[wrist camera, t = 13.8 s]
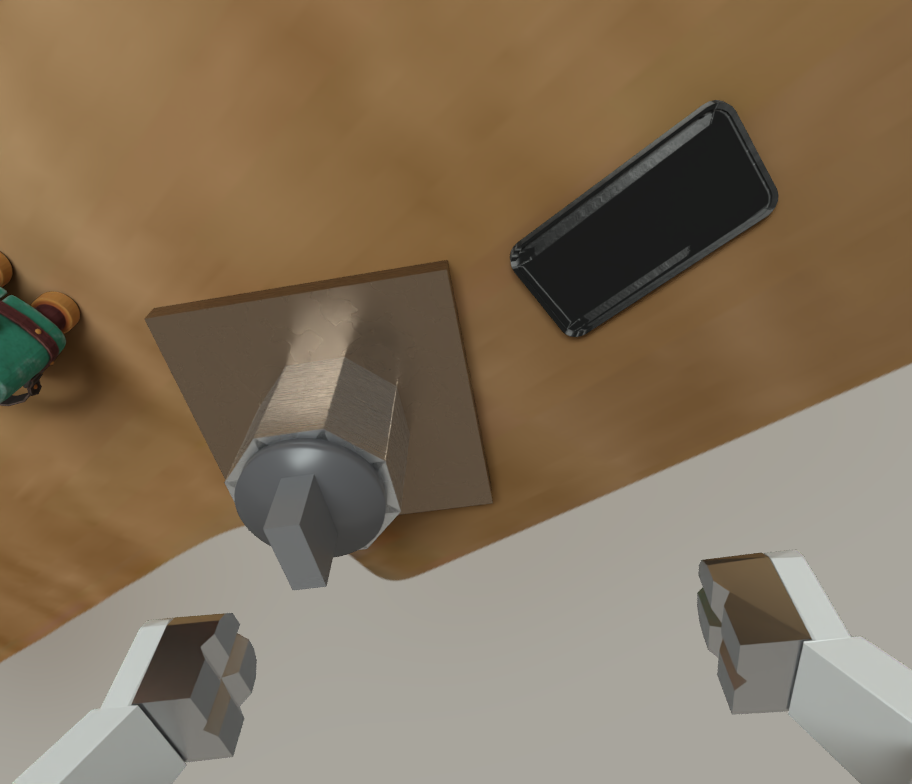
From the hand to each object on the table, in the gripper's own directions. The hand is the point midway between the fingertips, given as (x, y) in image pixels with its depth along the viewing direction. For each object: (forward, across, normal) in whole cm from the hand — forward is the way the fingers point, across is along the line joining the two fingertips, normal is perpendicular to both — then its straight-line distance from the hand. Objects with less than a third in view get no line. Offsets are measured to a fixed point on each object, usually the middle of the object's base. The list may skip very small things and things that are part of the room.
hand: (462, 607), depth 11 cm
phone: (+32, +10, -6) cm, 34 cm away
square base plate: (+31, -12, -16) cm, 37 cm away
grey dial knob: (+24, -12, -16) cm, 31 cm away
